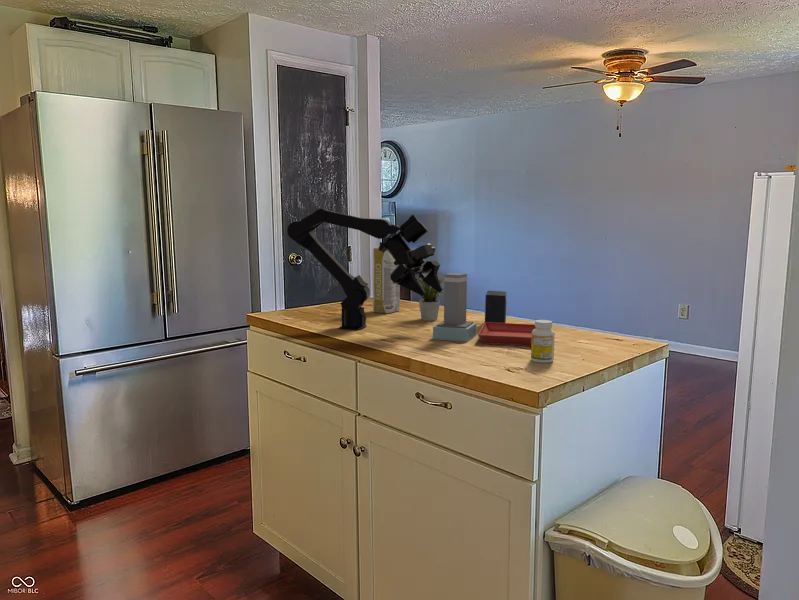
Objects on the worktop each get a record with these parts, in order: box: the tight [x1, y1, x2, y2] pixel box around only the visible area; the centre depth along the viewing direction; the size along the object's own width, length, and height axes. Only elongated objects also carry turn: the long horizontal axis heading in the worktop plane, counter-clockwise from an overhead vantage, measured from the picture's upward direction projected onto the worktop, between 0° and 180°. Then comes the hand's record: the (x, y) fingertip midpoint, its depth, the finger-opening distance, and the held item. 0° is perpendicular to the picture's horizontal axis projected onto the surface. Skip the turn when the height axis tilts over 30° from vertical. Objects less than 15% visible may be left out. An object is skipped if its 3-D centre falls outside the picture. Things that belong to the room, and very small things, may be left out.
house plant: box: [415, 276, 444, 322], centre depth 199 cm, size 14×14×16 cm
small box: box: [484, 290, 508, 323], centre depth 189 cm, size 11×6×10 cm, turn 168°
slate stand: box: [432, 320, 478, 343], centre depth 171 cm, size 10×10×4 cm
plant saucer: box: [477, 321, 536, 347], centre depth 168 cm, size 18×18×3 cm
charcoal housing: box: [443, 272, 468, 325], centre depth 170 cm, size 5×5×14 cm
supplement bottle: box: [530, 319, 556, 364], centre depth 144 cm, size 5×5×10 cm
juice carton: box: [372, 244, 401, 314], centre depth 214 cm, size 9×8×24 cm
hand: (432, 293), depth 174 cm, fingers open, 9 cm apart
